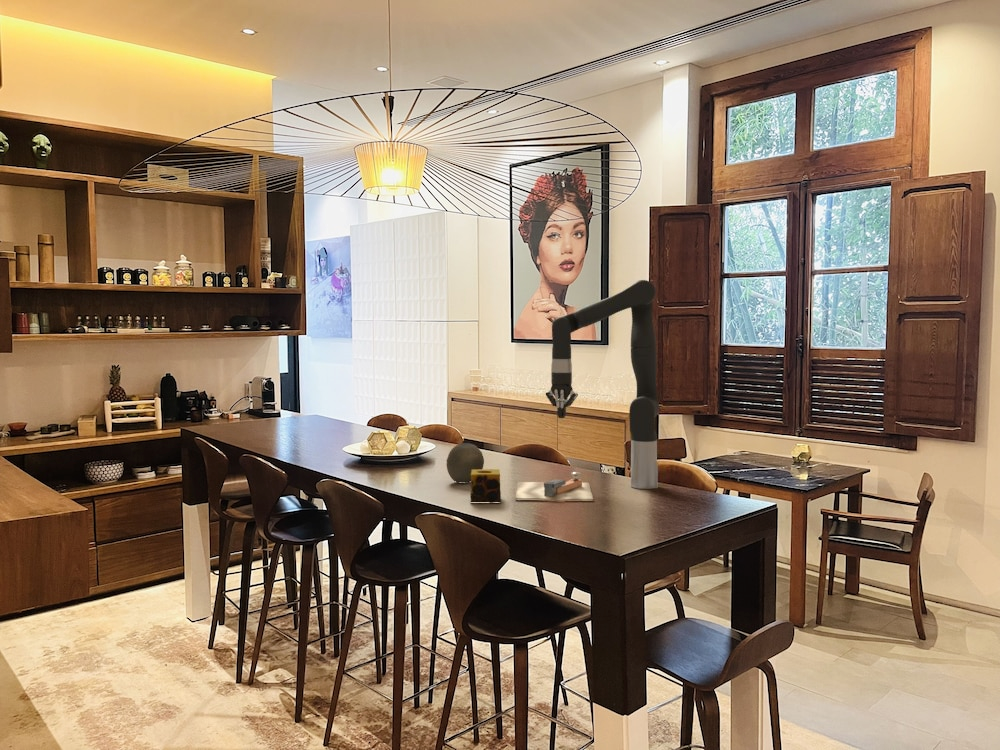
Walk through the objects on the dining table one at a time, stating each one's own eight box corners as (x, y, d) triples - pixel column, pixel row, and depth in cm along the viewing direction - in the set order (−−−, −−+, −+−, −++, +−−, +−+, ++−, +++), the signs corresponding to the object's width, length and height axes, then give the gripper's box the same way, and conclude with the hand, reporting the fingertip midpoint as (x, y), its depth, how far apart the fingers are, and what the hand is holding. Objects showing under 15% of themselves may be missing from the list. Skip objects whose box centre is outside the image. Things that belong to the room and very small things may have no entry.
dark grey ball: (444, 486, 281) (444, 446, 280) (448, 479, 295) (448, 441, 294) (483, 487, 280) (483, 446, 280) (485, 479, 295) (484, 441, 294)
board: (588, 485, 283) (588, 482, 283) (593, 501, 255) (593, 498, 255) (518, 484, 285) (518, 482, 285) (515, 500, 257) (515, 498, 257)
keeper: (555, 491, 267) (555, 478, 267) (565, 492, 265) (565, 480, 264) (543, 496, 260) (543, 482, 260) (553, 497, 258) (553, 484, 257)
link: (573, 484, 278) (573, 478, 278) (584, 485, 276) (584, 479, 276) (548, 492, 264) (548, 486, 264) (559, 493, 261) (559, 488, 261)
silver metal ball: (580, 479, 277) (580, 471, 277) (580, 480, 273) (580, 473, 273) (570, 479, 277) (570, 471, 277) (571, 480, 274) (571, 473, 273)
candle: (500, 504, 252) (500, 474, 252) (470, 504, 252) (470, 474, 252) (500, 497, 262) (500, 468, 262) (471, 497, 262) (471, 469, 262)
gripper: (582, 371, 281) (582, 418, 282) (551, 370, 288) (550, 416, 289) (572, 372, 275) (572, 420, 276) (540, 371, 282) (540, 418, 283)
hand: (561, 418), depth 282 cm, fingers closed
